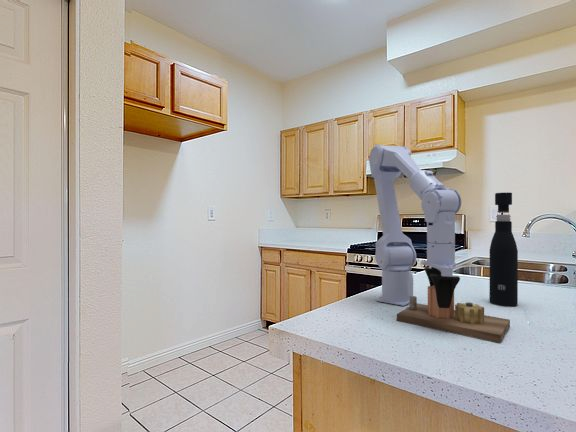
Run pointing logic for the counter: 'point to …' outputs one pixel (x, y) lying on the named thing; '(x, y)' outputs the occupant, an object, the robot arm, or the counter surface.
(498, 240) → the black bottle
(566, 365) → the counter surface
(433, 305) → the gear
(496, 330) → the gear board
